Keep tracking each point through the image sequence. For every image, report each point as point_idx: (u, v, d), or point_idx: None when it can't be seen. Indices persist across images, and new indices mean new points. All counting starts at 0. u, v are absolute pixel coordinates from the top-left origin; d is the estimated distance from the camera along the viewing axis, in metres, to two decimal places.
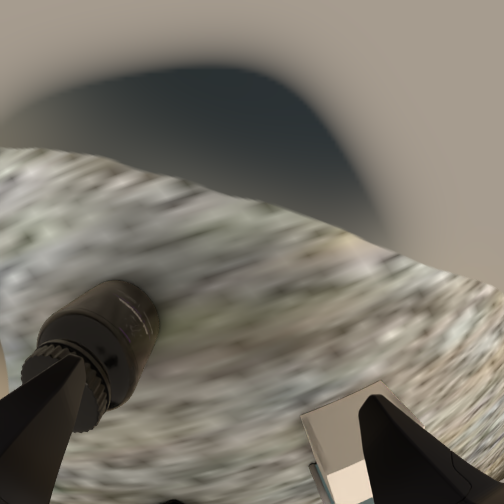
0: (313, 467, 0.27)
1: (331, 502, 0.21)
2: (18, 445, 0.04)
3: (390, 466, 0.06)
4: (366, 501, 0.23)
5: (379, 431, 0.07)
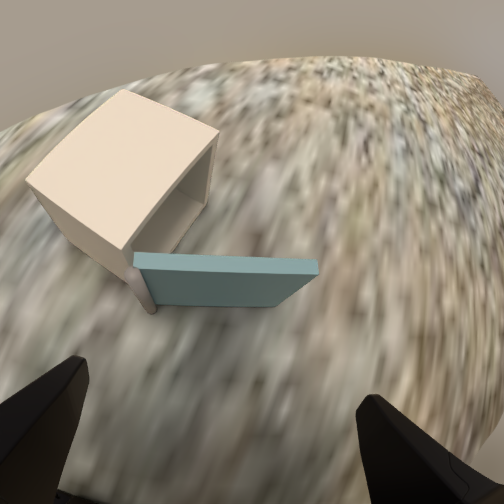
0: None
1: None
2: (22, 447, 0.04)
3: (387, 467, 0.06)
4: None
5: (376, 431, 0.07)
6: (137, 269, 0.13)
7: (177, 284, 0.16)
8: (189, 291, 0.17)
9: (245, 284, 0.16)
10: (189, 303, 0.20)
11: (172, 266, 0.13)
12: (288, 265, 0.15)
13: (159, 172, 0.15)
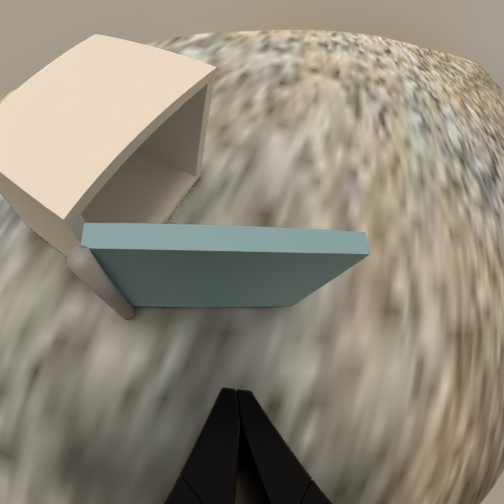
0: None
1: None
2: (223, 499, 0.04)
3: (241, 479, 0.05)
4: None
5: None
6: (87, 249, 0.07)
7: (155, 275, 0.10)
8: (174, 286, 0.11)
9: (258, 273, 0.10)
10: (177, 304, 0.14)
11: (141, 243, 0.08)
12: (327, 239, 0.09)
13: (130, 112, 0.09)
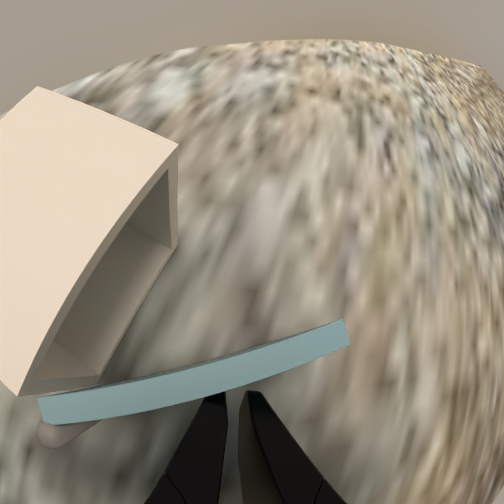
0: None
1: None
2: (208, 499, 0.04)
3: (252, 479, 0.06)
4: (252, 349, 0.10)
5: (246, 435, 0.07)
6: (52, 425, 0.05)
7: None
8: None
9: None
10: None
11: (100, 412, 0.06)
12: (299, 348, 0.08)
13: (65, 239, 0.07)
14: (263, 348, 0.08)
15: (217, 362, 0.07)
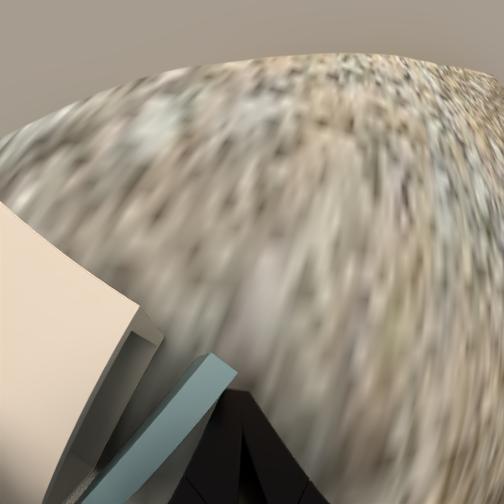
0: None
1: None
2: None
3: None
4: (161, 406, 0.08)
5: None
6: None
7: None
8: None
9: None
10: None
11: None
12: (182, 410, 0.06)
13: (28, 430, 0.05)
14: (147, 430, 0.06)
15: (119, 462, 0.05)
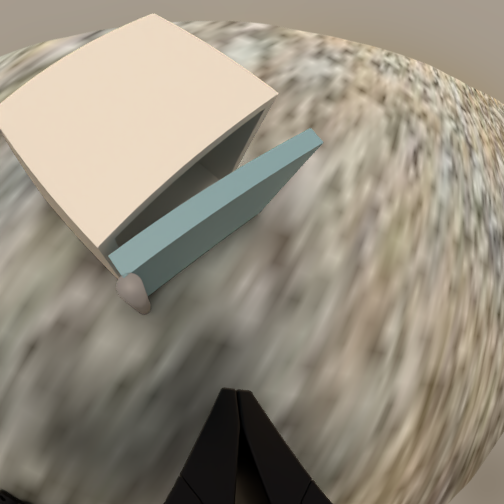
0: None
1: None
2: (223, 500, 0.04)
3: (241, 479, 0.05)
4: None
5: None
6: (130, 273, 0.08)
7: (174, 256, 0.11)
8: (185, 254, 0.12)
9: (248, 201, 0.12)
10: (180, 269, 0.15)
11: (171, 235, 0.09)
12: (291, 148, 0.11)
13: (181, 131, 0.09)
14: (268, 152, 0.10)
15: (242, 167, 0.10)
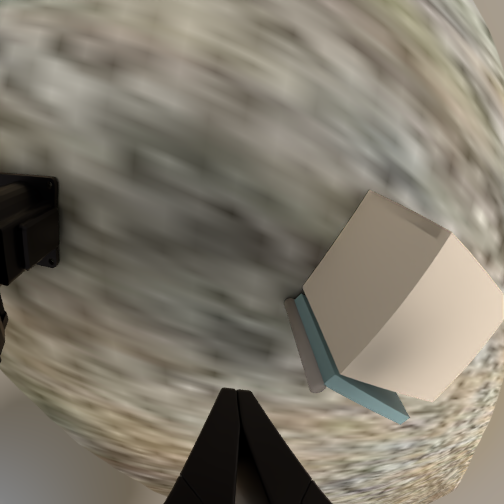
0: (291, 302, 0.20)
1: (317, 360, 0.15)
2: (223, 500, 0.04)
3: (241, 479, 0.05)
4: None
5: None
6: (325, 386, 0.13)
7: None
8: None
9: None
10: None
11: (346, 394, 0.14)
12: (396, 416, 0.15)
13: (408, 379, 0.13)
14: (394, 409, 0.15)
15: (384, 404, 0.15)
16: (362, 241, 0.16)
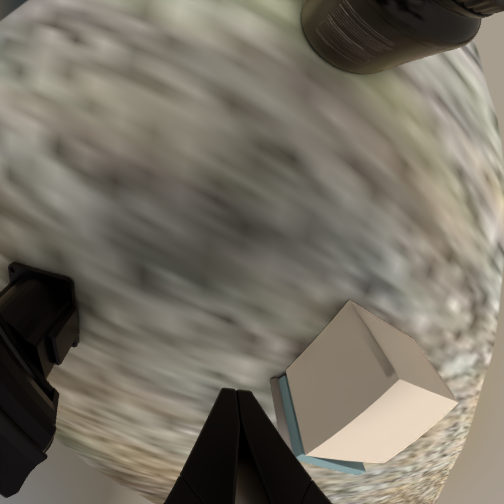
0: (275, 383, 0.23)
1: (291, 439, 0.18)
2: (223, 500, 0.04)
3: (241, 479, 0.05)
4: None
5: None
6: None
7: None
8: None
9: None
10: None
11: (311, 462, 0.17)
12: (353, 471, 0.18)
13: (360, 454, 0.16)
14: (351, 468, 0.18)
15: (343, 465, 0.18)
16: (335, 351, 0.19)
